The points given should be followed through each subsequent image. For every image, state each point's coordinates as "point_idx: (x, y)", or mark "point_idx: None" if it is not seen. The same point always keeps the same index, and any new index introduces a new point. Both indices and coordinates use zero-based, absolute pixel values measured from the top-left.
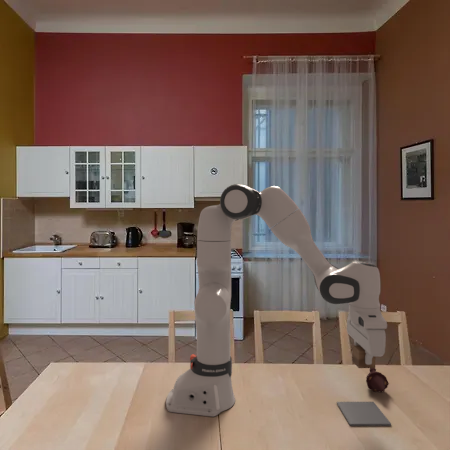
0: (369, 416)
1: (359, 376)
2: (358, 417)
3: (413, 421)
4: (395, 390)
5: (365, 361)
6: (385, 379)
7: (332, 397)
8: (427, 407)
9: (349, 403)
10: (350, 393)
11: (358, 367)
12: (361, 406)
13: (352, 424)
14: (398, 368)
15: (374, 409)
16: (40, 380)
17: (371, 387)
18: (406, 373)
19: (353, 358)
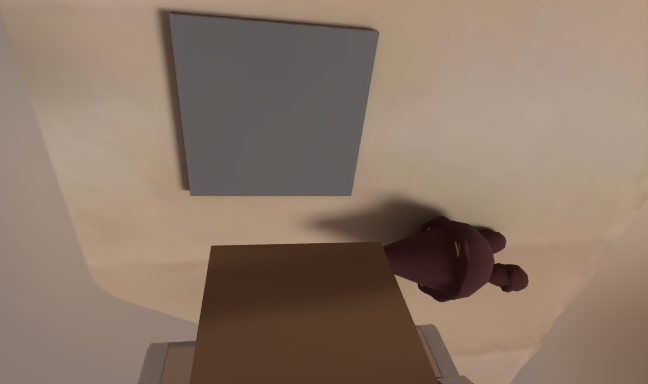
0: (240, 136)
1: (542, 217)
2: (231, 84)
3: None
4: (414, 285)
5: (151, 365)
6: (431, 292)
7: (434, 32)
8: None
9: (352, 92)
10: (441, 134)
11: (214, 249)
12: (321, 135)
13: (171, 26)
14: (527, 333)
15: (293, 177)
16: None
17: (436, 226)
18: (493, 340)
19: (362, 271)
